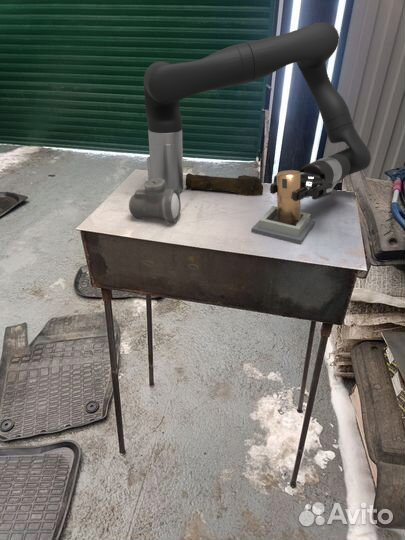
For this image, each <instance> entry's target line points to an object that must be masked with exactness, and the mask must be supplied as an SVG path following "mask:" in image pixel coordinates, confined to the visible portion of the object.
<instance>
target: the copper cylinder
mask: <svg viewBox="0 0 405 540" xmlns="http://www.w3.org/2000/svg"><path fill="white" fill-rule="evenodd" d="M299 171H300V170H293V169H292V170H291V169H289V170H282V171H281V170H280V171H279V172H277V173H276V175H277V193H276V196H277V197H276V199H277V202H276V203H277V206H276V207H278V221H279V222H280V223H285V224H291V223H296V222H298V221H300V212H301V200H298V201H294V200H293V196H294V192H295V191H296V190H298V189H300V172H299Z"/></svg>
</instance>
